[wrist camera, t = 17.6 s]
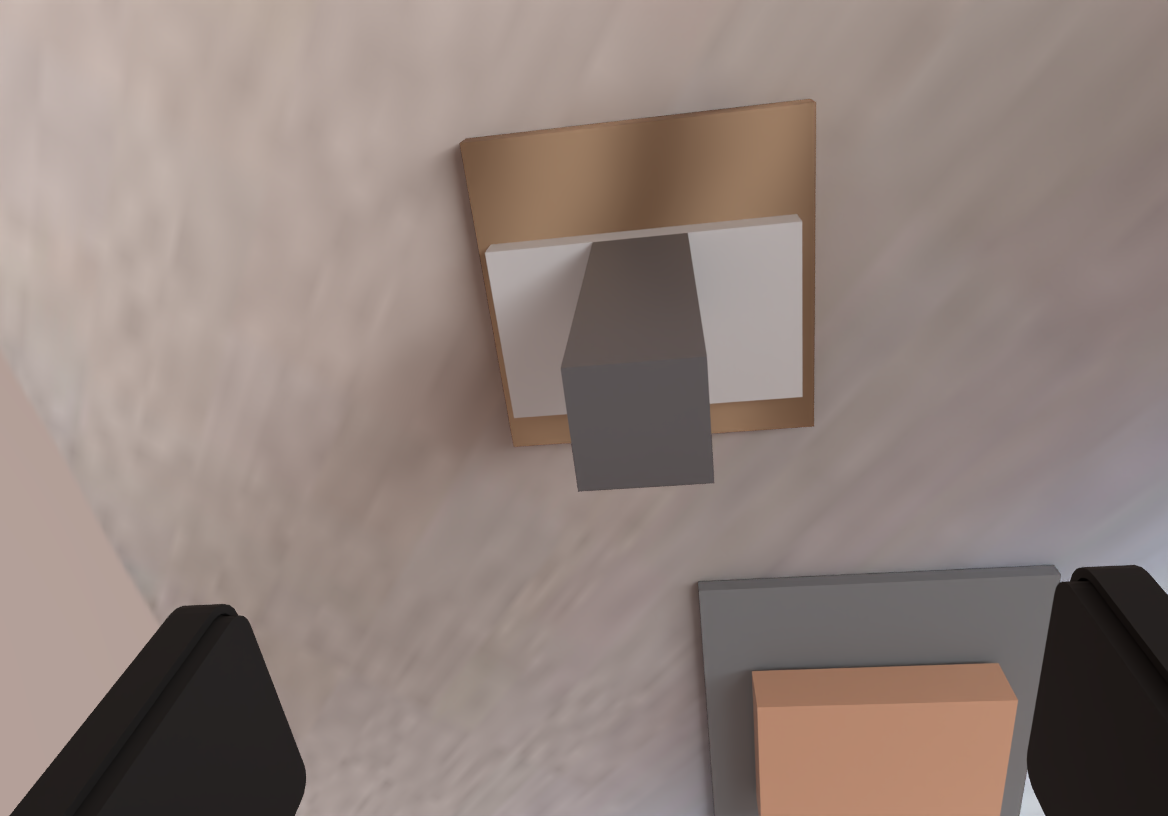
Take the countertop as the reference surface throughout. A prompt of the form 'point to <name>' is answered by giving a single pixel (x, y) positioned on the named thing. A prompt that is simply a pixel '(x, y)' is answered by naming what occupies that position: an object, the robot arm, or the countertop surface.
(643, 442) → the white base with post
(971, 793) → the block
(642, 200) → the board
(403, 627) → the countertop surface
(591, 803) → the countertop surface
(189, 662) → the robot arm
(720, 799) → the mat
